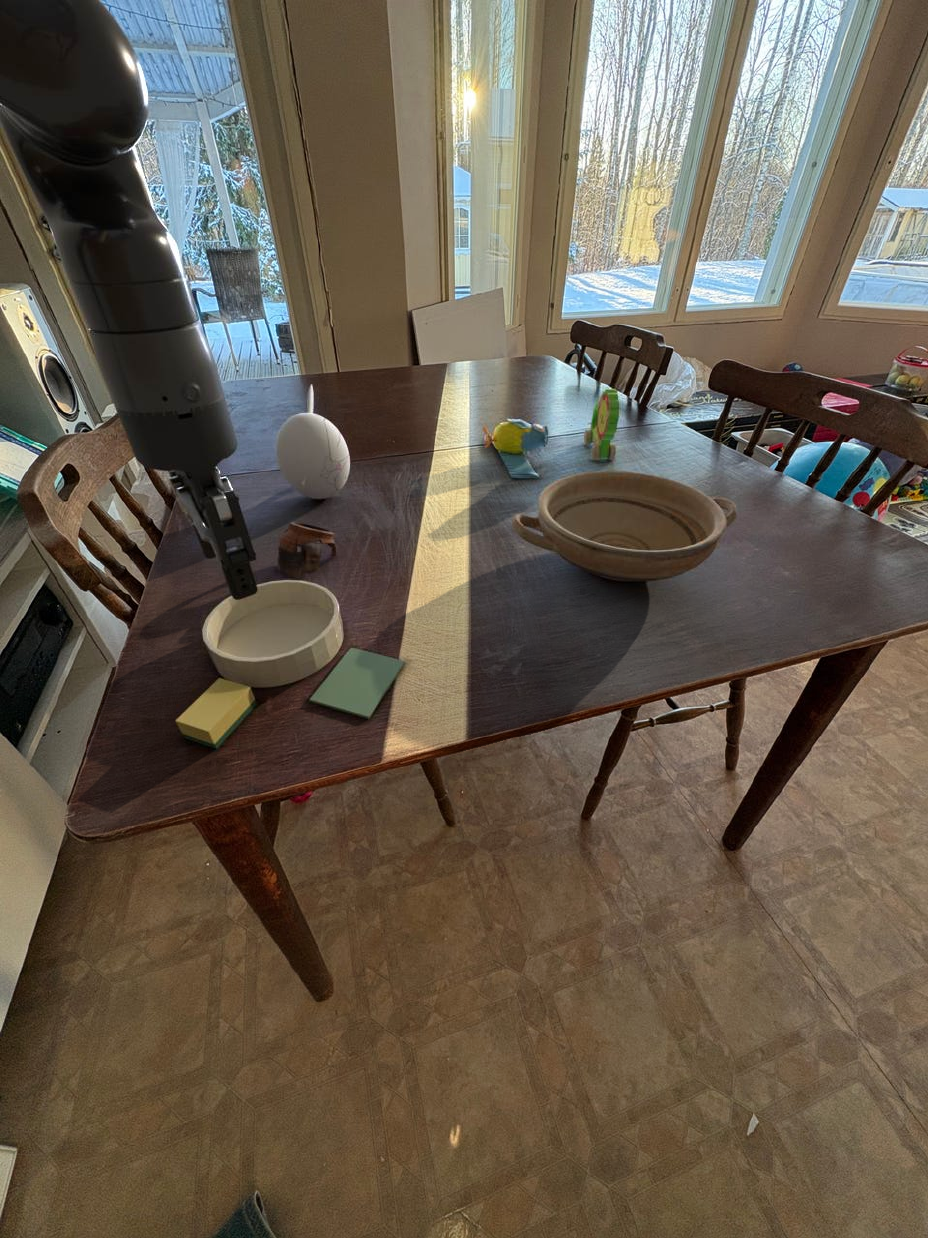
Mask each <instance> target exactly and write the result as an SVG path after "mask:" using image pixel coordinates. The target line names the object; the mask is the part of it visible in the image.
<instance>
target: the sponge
mask: <svg viewBox="0 0 928 1238" xmlns="http://www.w3.org/2000/svg"><path fill="white" fill-rule="evenodd" d="M257 705H258V703H257V701H256V699H255V695H254V693H253V690H252V687H248V686H245V685H242V684H238V683H235V682H231V681H229V680H227V679H226V678H221V677H218V678H217V679H216V680H215V681H214V683H213V684H211V685H210V686H209V687H208V688H207V689H206V690H205V691H204V692H203V693H202V694H201V695H200V696H199V697H198V698H197V699H196V700H195V701H194V702H193V703H192V704H191V705H190V706H189V707H188V708H187V709H185V711H184V712H183V713H181V714H180V716H178V717H177V718H176V719H175V723H176V725H177V727H178V728H179V730H180V733H181V735H182V736H183V738H184V739H187V740H188V741H191V742H195V743H197V744H201V745H202V746H203V745H204V746H207V747H208V748H212V749H215V750H217V749H219V748H220V746H222V744H223V743H224V742H225V741H226V740H227V738H228V737H230V735H231V734H233V732H234V730H236V729H237V728H238V726H239V725H241V723H242V722H243V721H244V720H245V718H246V717H247V716H248V715H249V714H250V713H251V711H253V709H254V708H255V707H256V706H257Z"/></svg>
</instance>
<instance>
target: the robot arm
mask: <svg viewBox="0 0 928 1238" xmlns="http://www.w3.org/2000/svg"><path fill="white" fill-rule="evenodd" d="M149 106H150V105H149V91H148V87H147V82H146V78H145V74H144V71H143V68H142V65H141V63H140V61H139V58H138V56H137V54H136V51H135V49H134V48H133V46H132V44H131V41H130V40H129V38H128V37H127V35H126V33H125V32H124V31H123V29H122V27H121V26H120V24H119V22H118V21H117V20H116V19H115V17H114V15H113V14H112V13H111V12H110V11H109V10H108V9H107V7H106V6H105V5H104V4H103V2H101V0H0V126H1V128H2V131H3V133H4V135H5V137H6V139H7V141H8V143H9V146H10V148H11V150H12V152H13V155H14V157H15V158H16V160H17V163H18V165H19V167H20V169H21V171H22V173H23V175H24V177H25V179H26V182H27V183H28V185H29V188H30V190H31V192H32V194H33V196H34V198H35V200H36V202H37V204H38V206H39V208H40V210H41V212H42V214H43V216H44V218H45V220H46V221H47V224H48V226H49V228H50V231H51V234H52V237H53V241H54V242H55V247H56V249H57V252H58V256H59V259H60V262H61V265H62V268H63V271H64V274H65V276H66V279H67V281H68V283H69V287H70V288H71V291H72V294H73V296H74V298H75V301H76V303H77V306H78V308H79V311H80V313H81V315H82V319H83V321H84V324H85V325H86V328H87V332H88V334H89V337H90V340H91V344H92V347H93V351H94V355H95V359H96V362H97V365H98V368H99V372H100V374H101V376H102V379H103V382H104V384H105V386H106V389H107V390H108V394H109V395H110V398H111V401H112V404H113V407H114V408H115V411H116V414H117V416H118V418H119V421H120V422H121V425H122V429H123V430H124V433H125V435H126V438H127V440H128V442H129V445H130V448H131V450H132V452H133V455H134V457H135V459H136V461H137V462H138V463H140V464H141V465H142V466H144V467H146V468H148V469H151V470H156V471H160V472H168V473H169V476H170V477H168V482H169V485H170V487H171V491H172V492H173V494H174V496H175V498H176V501H177V503H178V505H179V507H180V509H181V511H182V512H181V513H183V514H185V517H186V520H187V521H189V523H190V524H192V527H193V530H194V532H195V535H196V538H197V540H198V544H199V546H200V549H201V552H202V554H203V555H204V557H205V558H206V559H209V560H211V559H215V560H216V562H217V563H218V564H219V566H220V568H221V571H222V575H223V577H224V580H225V583H226V585H227V589H228V591H229V594H230V596H232V597H233V598H234V599H235V600H240V599H243V598H246V597H249V596H251V595H254V594H256V593H257V591H258V588H257V585H258V584H257V581H256V578H255V575H254V572H253V569H252V565H251V562H255V561H257V557H256V556H257V552H256V550H255V549H254V546H253V543H252V540H251V536H250V533H249V531H248V527H247V524H246V521H245V518H244V514H243V511H242V508H241V504H240V498H239V495H238V494H237V493H236V492H235V490H234V489H233V487H232V485H231V482H230V481H229V479H228V477H227V476H223V477H222V474H221V471H220V469H219V468H218V465H219V464H220V463H221V462H222V461H224V460H225V459H229V458H230V457H231V456H232V455H234V453H235V452H236V451H237V448H238V439H237V436H236V432H235V429H234V425H233V422H232V417H231V414H230V411H229V407H228V403H227V400H226V397H225V392H224V389H223V385H222V382H221V378H220V374H219V371H218V367H217V363H216V360H215V357H214V354H213V352H212V348H211V345H210V344H209V342H208V339H207V336H206V334H205V332H204V329H203V326H202V323H201V321H200V316H199V311H198V309H197V306H196V302H195V297H194V294H193V291H192V288H191V283H190V280H189V277H188V273H187V270H186V266H185V264H184V260H183V257H182V255H181V252H180V250H179V247H178V245H177V242H176V241H175V239H174V237H173V235H172V233H171V232H170V230H169V229H168V228H167V226H165V224H164V223H163V221H161V219H160V218H159V215H158V213H157V211H156V209H155V206H154V203H153V200H152V196H151V193H150V191H149V187H148V184H147V183H148V182H147V181H146V178H145V173H144V171H143V168H142V165H141V162H140V158H139V156H138V153H137V152H138V151H137V148H136V144H138V142H139V141H140V140H141V138H142V135H143V133H144V131H145V129H146V126H147V122H148V116H149ZM231 540H235V542H236V544H237V545H236V546H233V547H230V548H229V547H228V545H227V542H228V541H231Z"/></svg>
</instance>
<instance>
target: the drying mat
mask: <svg viewBox="0 0 928 1238" xmlns="http://www.w3.org/2000/svg"><path fill="white" fill-rule="evenodd" d="M405 664H406V661H405V660H402V659H398V658H394V657H390V656H386V655H382V654H378V653H375V652H371V651H366V650H363V649H359V648H355V647H350V648H349V649H348V651H347V652H345V654H344V656H343V657H342V658H341V659H340V660H339V662H338V663H337V664H336V666H335V667H334V668H333V670H331V672H330V673H329V674H328V676H327V677H326V678H325V680H324V681H323V682H322V683H321V684H320V685H319V687H318V688H317V689H316V691H315V692H314V693H313V694H312V695H311V697H310V698H309V702H310V703H313V704H317V705H319V706H324V707H327V708H331V709H334V710H337V711H341V712H344V713H347V714H351V715H354V716H358V717H361V718H364V719H368V720H369V719H370V717H372V715H373V713H374V711H375V710H376V708H377V707H378V706H379V704H380V702H381V700H382V699H383V698H384V697H385V695H386V694H387V692H388V690H389V689H390V687H391V686H392V684H393V683H394V681H395V680H396V678H397V676H398V675H399V673H400V672H401V670H402V669H403V667H404V666H405Z"/></svg>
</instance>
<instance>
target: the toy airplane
mask: <svg viewBox="0 0 928 1238" xmlns="http://www.w3.org/2000/svg"><path fill="white" fill-rule="evenodd" d="M506 420H507V421H504V422H501V423H498V425H497V426H495V428H494V430H493V434H490V432H489V431H488V429H487V428H486V427H485V426H481V428H482V430H483V432H484V441H483V446H485V448H484V449H487V448H488V447H490V446H491V444H492V445H493V447H494V448H495V449H496V451H498V454H499V456H500V458H501V460H502V461H503V463H504V465H505V467H506V469H507V472H508V475H510V477H511V478H512V479H524V480H529V479H540V475H539V474H538V473H536V471H535V470H534V468H533V466H532V465H531V463H530V462H529V460H528V458H527V456H526V455H525V453H527V452H530V451H533V450H536V449H538V448H540V447H544V448H546V446H547V445H548V443H549V429H548V426H547V425H545V426H544V425H542V424H540V423H537V422H531V421H530V422H528V421H525V420H523V419H521V418H520V419H519V418H518V419H514V418H510V419H509V418H506Z"/></svg>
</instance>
